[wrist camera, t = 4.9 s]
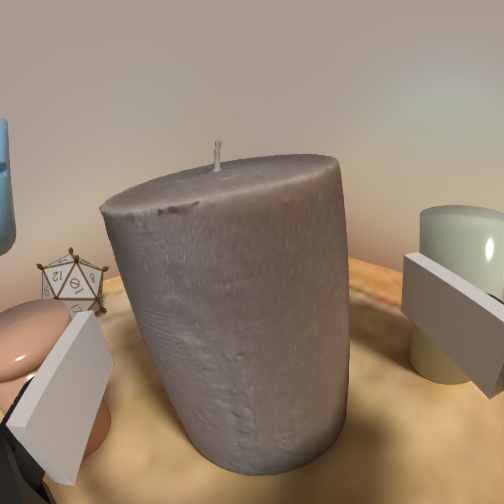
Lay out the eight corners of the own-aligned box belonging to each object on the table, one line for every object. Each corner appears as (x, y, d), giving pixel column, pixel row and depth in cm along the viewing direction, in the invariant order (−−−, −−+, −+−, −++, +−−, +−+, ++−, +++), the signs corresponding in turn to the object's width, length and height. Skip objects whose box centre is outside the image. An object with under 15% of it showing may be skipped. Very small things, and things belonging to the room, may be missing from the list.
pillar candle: (329, 350, 22) (310, 126, 16) (363, 463, 13) (379, 122, 7) (195, 367, 22) (138, 156, 17) (173, 481, 13) (35, 188, 8)
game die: (93, 341, 34) (86, 264, 38) (130, 329, 31) (121, 239, 34) (27, 339, 27) (25, 253, 30) (52, 326, 23) (51, 222, 26)
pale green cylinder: (399, 375, 18) (412, 226, 15) (419, 327, 22) (426, 203, 19) (482, 390, 14) (519, 236, 11) (487, 338, 19) (506, 209, 16)
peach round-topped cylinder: (13, 422, 16) (-39, 332, 14) (87, 379, 22) (48, 290, 19) (45, 487, 11) (-36, 384, 9) (137, 427, 17) (87, 319, 14)
